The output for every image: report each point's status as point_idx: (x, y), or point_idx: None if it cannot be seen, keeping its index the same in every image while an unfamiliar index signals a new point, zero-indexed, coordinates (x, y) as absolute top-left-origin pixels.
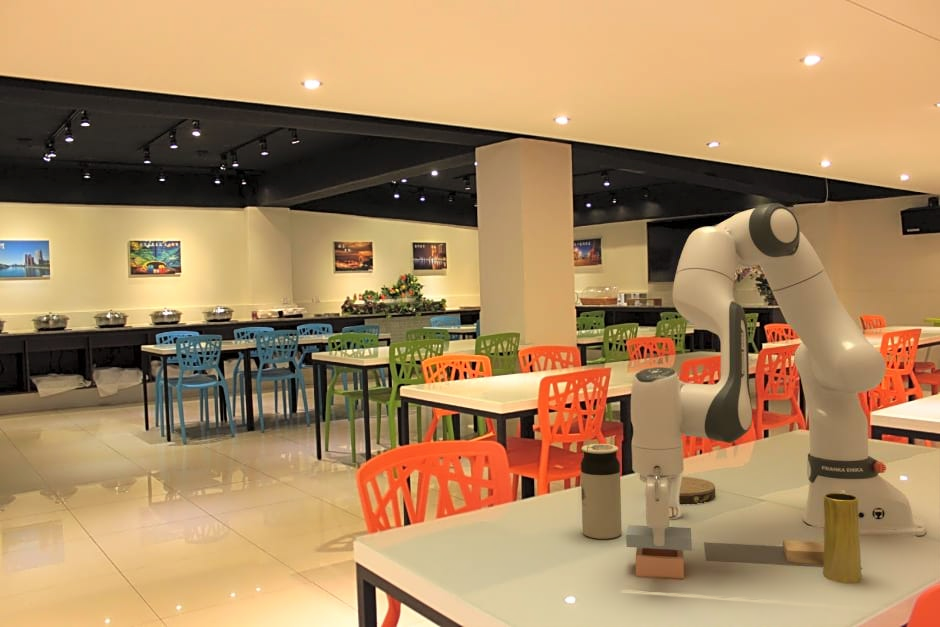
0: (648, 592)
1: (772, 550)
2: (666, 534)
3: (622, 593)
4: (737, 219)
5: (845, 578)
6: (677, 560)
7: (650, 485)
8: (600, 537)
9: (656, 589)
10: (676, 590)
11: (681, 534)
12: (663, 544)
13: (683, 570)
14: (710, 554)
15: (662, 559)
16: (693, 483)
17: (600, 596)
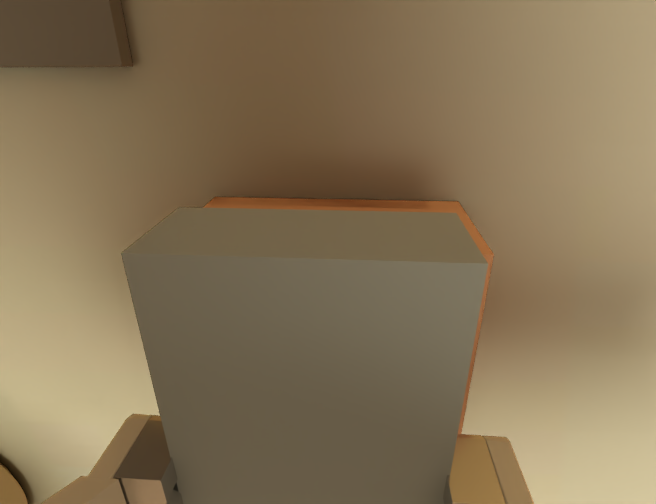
0: (581, 352)
1: None
2: (388, 458)
3: (585, 435)
4: None
5: None
6: (484, 286)
7: None
8: (21, 495)
9: (546, 322)
10: (563, 239)
11: (374, 350)
12: (506, 443)
13: (473, 226)
14: (5, 30)
15: (472, 367)
16: None
17: (609, 493)
